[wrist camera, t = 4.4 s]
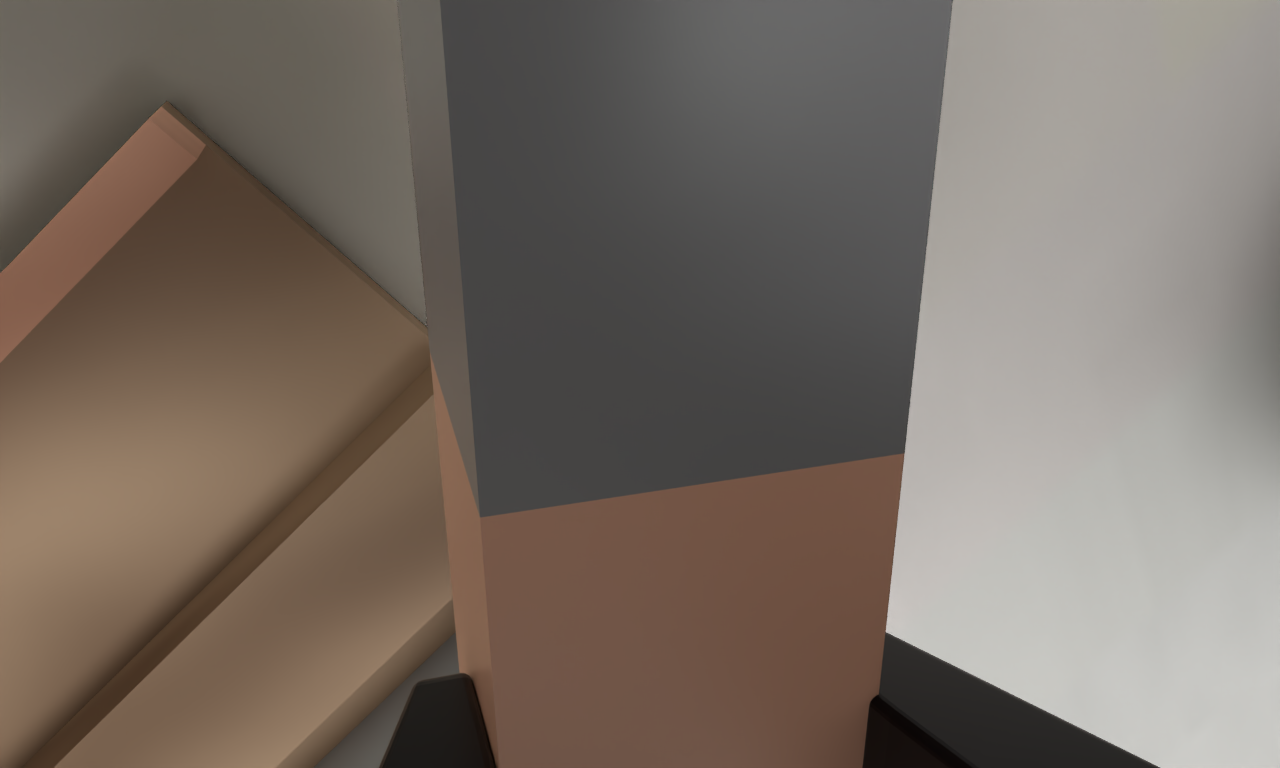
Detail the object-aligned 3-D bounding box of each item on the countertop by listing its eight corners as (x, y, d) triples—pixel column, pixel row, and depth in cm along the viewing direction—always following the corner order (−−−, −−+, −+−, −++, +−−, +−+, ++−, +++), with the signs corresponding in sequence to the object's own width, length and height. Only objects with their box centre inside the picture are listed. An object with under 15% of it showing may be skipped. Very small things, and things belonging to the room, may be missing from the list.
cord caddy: (735, 595, 23) (766, 645, 21) (321, 980, 24) (321, 1055, 22) (166, 101, 16) (148, 118, 14) (-373, 664, 17) (-446, 739, 15)
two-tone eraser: (721, 1000, 11) (819, 1252, 9) (496, 1064, 11) (543, 1352, 9) (760, -96, 7) (963, -113, 5) (388, -97, 6) (430, -115, 4)
